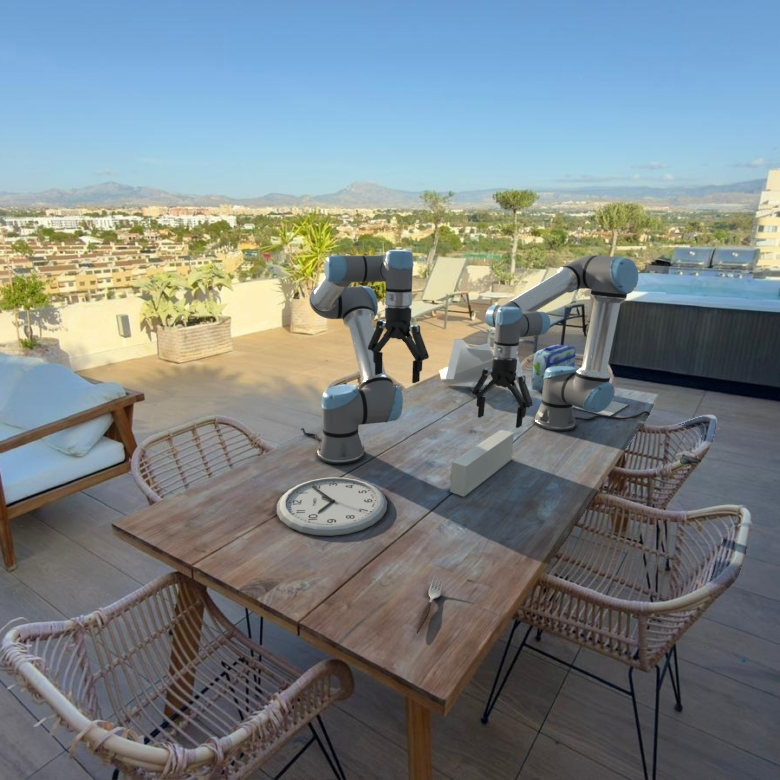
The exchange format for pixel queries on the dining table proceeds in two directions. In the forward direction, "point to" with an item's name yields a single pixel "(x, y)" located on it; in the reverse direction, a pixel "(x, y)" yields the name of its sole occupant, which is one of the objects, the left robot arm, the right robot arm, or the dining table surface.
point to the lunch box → (550, 362)
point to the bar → (481, 462)
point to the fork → (433, 594)
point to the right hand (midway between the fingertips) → (499, 421)
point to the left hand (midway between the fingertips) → (396, 378)
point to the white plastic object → (469, 363)
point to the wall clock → (331, 506)
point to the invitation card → (609, 408)
